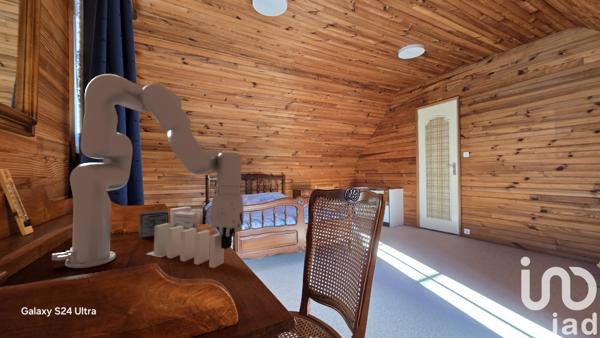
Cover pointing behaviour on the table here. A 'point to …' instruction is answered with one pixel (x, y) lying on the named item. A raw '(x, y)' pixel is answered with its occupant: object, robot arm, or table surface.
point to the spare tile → (161, 238)
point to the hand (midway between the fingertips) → (226, 247)
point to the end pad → (157, 255)
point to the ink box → (185, 220)
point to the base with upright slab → (175, 210)
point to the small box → (151, 222)
